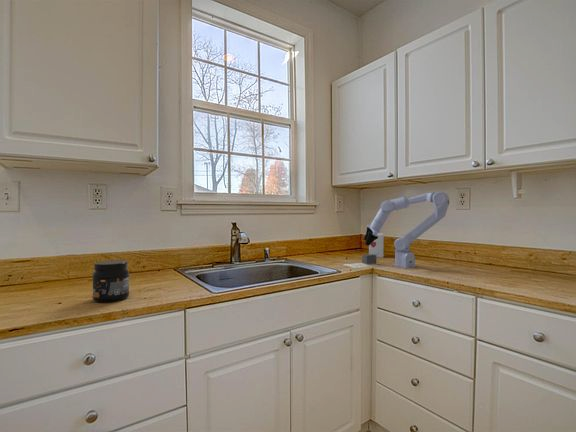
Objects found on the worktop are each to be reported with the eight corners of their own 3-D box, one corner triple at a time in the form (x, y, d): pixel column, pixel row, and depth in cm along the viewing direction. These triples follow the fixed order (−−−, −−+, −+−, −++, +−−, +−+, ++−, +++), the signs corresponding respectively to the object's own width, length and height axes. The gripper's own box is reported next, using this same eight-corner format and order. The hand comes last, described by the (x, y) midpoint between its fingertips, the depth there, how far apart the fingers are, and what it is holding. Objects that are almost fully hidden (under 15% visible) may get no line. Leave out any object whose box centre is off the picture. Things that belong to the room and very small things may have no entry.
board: (380, 268, 159) (380, 265, 159) (354, 270, 153) (354, 267, 153) (367, 264, 170) (367, 262, 170) (342, 266, 164) (342, 264, 164)
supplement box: (368, 257, 199) (368, 233, 199) (369, 255, 207) (369, 232, 207) (383, 257, 196) (383, 234, 196) (383, 256, 205) (383, 233, 205)
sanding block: (376, 264, 163) (376, 255, 163) (366, 265, 160) (366, 255, 160) (371, 263, 166) (371, 254, 166) (362, 264, 164) (362, 254, 164)
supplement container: (91, 297, 103) (91, 261, 103) (126, 293, 109) (126, 259, 109) (93, 305, 95) (93, 266, 94) (131, 300, 101) (131, 262, 101)
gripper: (370, 214, 172) (358, 235, 176) (373, 221, 158) (360, 243, 162) (382, 220, 172) (370, 241, 176) (386, 227, 158) (372, 249, 162)
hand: (366, 242), depth 169 cm, fingers open, 7 cm apart
